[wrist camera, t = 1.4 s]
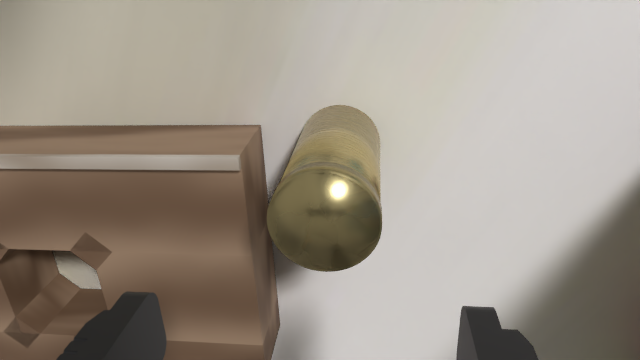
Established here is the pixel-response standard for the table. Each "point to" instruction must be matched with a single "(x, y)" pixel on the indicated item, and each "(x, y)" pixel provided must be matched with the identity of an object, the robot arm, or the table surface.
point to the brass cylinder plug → (330, 193)
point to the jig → (137, 235)
